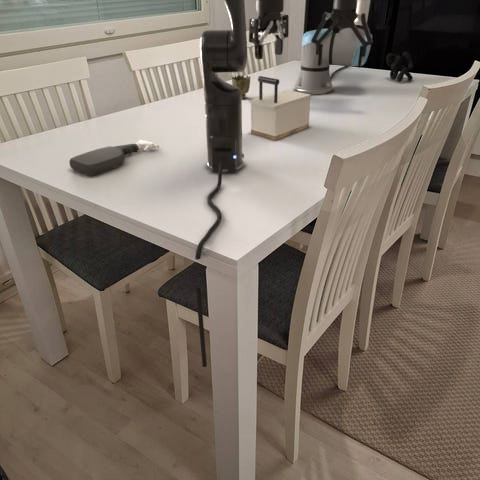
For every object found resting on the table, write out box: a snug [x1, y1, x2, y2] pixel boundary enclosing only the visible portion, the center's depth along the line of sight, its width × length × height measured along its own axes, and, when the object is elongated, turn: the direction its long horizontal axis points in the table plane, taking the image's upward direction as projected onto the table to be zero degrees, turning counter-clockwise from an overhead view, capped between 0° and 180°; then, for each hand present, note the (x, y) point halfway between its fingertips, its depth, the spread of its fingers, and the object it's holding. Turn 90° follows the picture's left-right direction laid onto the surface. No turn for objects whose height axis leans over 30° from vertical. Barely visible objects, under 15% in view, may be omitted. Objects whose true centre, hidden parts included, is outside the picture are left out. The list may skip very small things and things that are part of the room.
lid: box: [248, 75, 312, 109], centre depth 137 cm, size 18×10×8 cm, turn 136°
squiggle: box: [385, 51, 414, 83], centre depth 198 cm, size 11×10×15 cm
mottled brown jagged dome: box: [231, 74, 252, 99], centre depth 177 cm, size 8×7×8 cm
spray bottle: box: [68, 139, 160, 177], centre depth 124 cm, size 3×11×24 cm
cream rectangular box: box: [250, 96, 312, 141], centre depth 142 cm, size 17×10×10 cm, turn 136°
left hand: (268, 56), depth 128 cm, fingers open, 8 cm apart
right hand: (339, 66), depth 154 cm, fingers open, 13 cm apart
